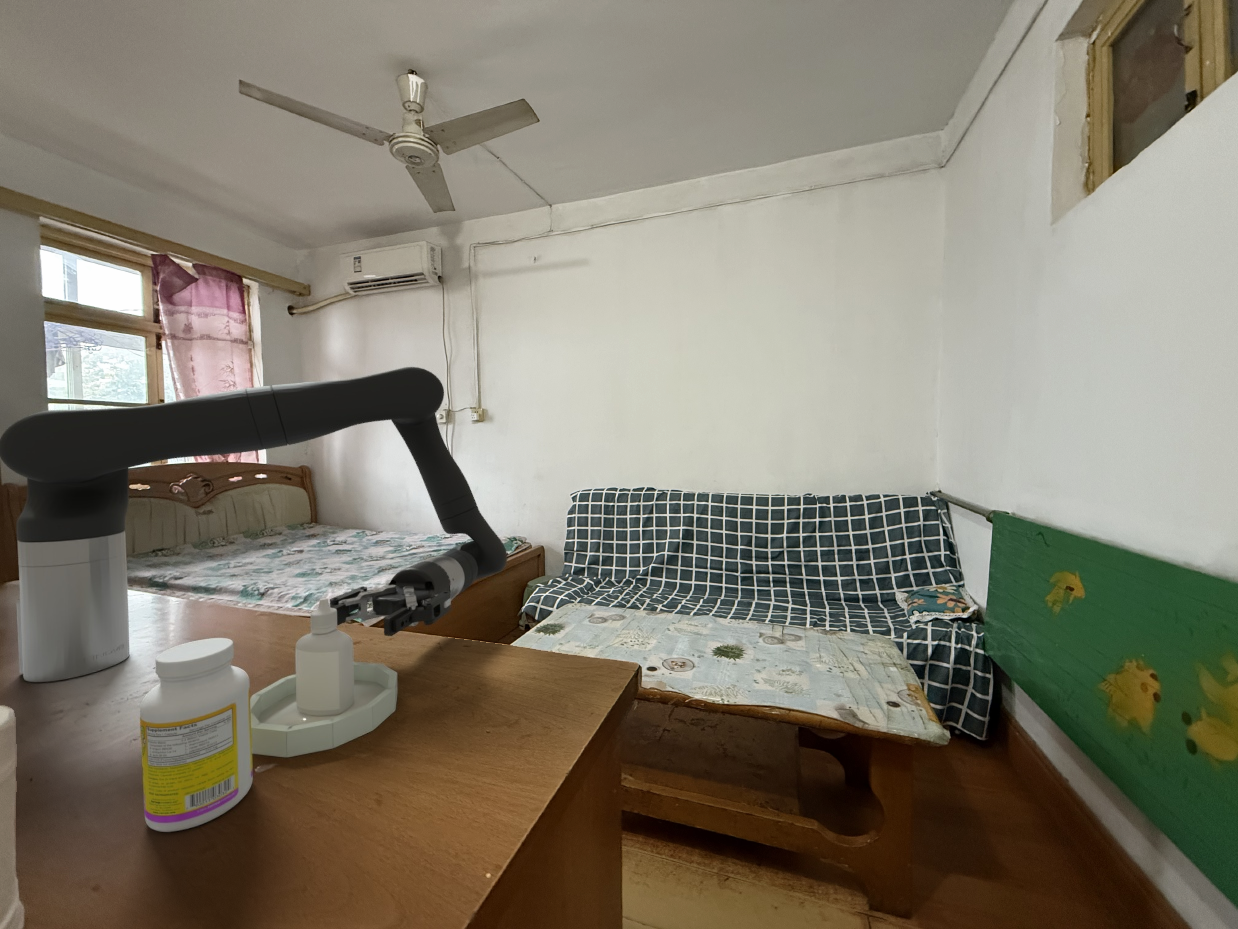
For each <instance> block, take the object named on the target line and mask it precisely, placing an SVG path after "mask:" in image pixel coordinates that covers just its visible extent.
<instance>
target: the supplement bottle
mask: <svg viewBox="0 0 1238 929" xmlns="http://www.w3.org/2000/svg"><path fill="white" fill-rule="evenodd" d="M234 656H235V648H234V641H233V640H232V639H230V638H226V637H212V638H204V639H198V640H193V641H189V642H184V643H181V644H178V645H175V646H173V647H170V648H168V649H165V650H164V651H161V652H160V653H159V654H158V655H157V656H156V657H155V674H156V676H157V677H158V679H159V680H160V681H159V683H158V684H157V685H155V686H154V687H153V688H152V689H150V690H149V691H148V692H147V693H146V695H145V696H144V697H143V699H142V700H141V702H140V706H139V722H140V723H139V725H140V726H139V729H140V730H139V731H140V746H141V748H140V749H141V767H142V785H143V789H142V790H143V792H142V793H143V811H144V821H145V822H146V825H147V826H148V828H150V829H151V830H154V831H156V832H163V833H171V832H177V831H183V830H188V829H190V828H191V829H192V828H195V827H199V826H200V825H203V824H205V823H208V822H210V821H213V820H214V819H216V818H218V817H220V816H221V815H223V814H225V813H227V812H228V811H230V810H231V809H233V808H234V807H235V806H236V805H238V803H239V802H241V800H243V798H244V797H245V796H246V795H247V794H248V792H249V790H250V789H251V787H252V784H253V780H254V778H253V777H254V775H253V774H254V772H253V770H254V768H253V767H254V766H253V764H254V763H253V754H252V737H251V709H250V698H251V684H250V682H251V680H250V677H249V675H248V673H247V672H246V671H245V670H244V669H242V668H240V667H238V666H236V665H235V666H234V665H232V661H233V659H234Z"/></svg>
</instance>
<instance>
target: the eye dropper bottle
mask: <svg viewBox="0 0 1238 929" xmlns="http://www.w3.org/2000/svg"><path fill="white" fill-rule="evenodd" d="M296 641H297V642H296V643H295V649H294V650H295V651H294V652H295V657H294V658H295V674H296V707H297V710H298V711H299V712H301V713H304V714H307V715H312V716H330V715H337V714H340V713H342V712H344V711H345V710H346V709H348V708H349V707H350V706H351V705H352V704H353V703H354V661H355V660H354V659H355V658H354V641H353V639H352V637H351V636H350V635H349V634H347V633H346V632H344V631H342V630H339V629H338V626H337V610H336V609H335V608H331V607H330V602H329V599H328V598H327V597H321V598H320V599H319V601H318V606H317V609H315V610H314V611H312V612H311V613H310V632H308V633H306V634H304V635H303V636H302V637H300V638H299V639H298V640H296Z"/></svg>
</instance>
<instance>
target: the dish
mask: <svg viewBox="0 0 1238 929" xmlns="http://www.w3.org/2000/svg"><path fill="white" fill-rule="evenodd" d="M397 700H398V672H396V671H395V670H393V669H392V668H390V667H388V666H387V665H385V664H384V663H381V662H380V663H379V662H378V663H377V662H368V661H367V662H366V661H355V660H354V703H353V704H352V705H351V706H350V707H349V708H348V709H346V710H345V711H344V712H342V713H340V714H337V715H330V716H312V715H307V714H304V713H301V712H299V711H298V710H297V707H296V673H294V674H290V675H288V676H285V677H282V678H280V679H278V680H277V681H275V682H273V683H272V684H270V685H268V686H267V687H265V688H263V689H261V690H259V691H257V692H255V693H254V694H252V695H251V696H250V709H251V737H252V755H262V756H270V757H278V758H279V757H280V758H291V757H296V756H302V755H306V754H311V753H317V752H323V751H327V750H331V749H332V750H333V749H335V748H337V747H340V746H342V745H344V744H346V743H348V742H350V741H353V740H355V739H357V738H359V737H361V736H363V735H366V734H367V733H370V732H372V731H374V730H375V729H376V728H377V727H378V726H380V725H381V724H382V723H383V722H385V720H386V719H387V718H388V717H389V716H391V715H392V714H393V713H394V712H395V711H396V708H397V702H398V701H397Z"/></svg>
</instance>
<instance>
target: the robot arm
mask: <svg viewBox="0 0 1238 929" xmlns="http://www.w3.org/2000/svg"><path fill="white" fill-rule="evenodd" d="M444 396H445V390H444V386H443V383H442V382H441V380H440V378H438V377H437V375H436V374H434V373H433V372H432V371H429V370H427V369H425V368H423V367H422V368H421V367H418V366H417V367H416V366H406V367H405V366H404V367H400V368H396V369H391V370H388V371H383V372H378V373H374V374H370V375H364V376H360V377H354V378H347V379H335V380H319V381H316V380H315V381H306V382H297V383H296V382H295V383H293V382H292V383H283V384H272V385H265V386H264V385H263V386H257V387H256V386H255V387H246V388H239V389H234V390H226V391H220V392H215V393H208V394H204V395H198V396H193V397H188V398H182V399H178V400H174V401H169V402H164V403H163V402H162V403H158V404H151V405H150V404H149V405H141V406H129V407H112V408H111V407H110V408H109V407H108V408H91V409H90V408H88V409H54V410H53V409H52V410H51V409H50V410H49V409H48V410H43V411H38V412H35V413H32V414H29V415H27V416H24V417H21V418H20V419H19V420H17V421H15V422H13V423H12V424H10V426H9V427H7V429H6V430H5V431H4V432H3V433H2V435H1V437H0V460H1V461H2V462H3V464H4V465H5V466H6V467H7V468H8V469H10V470H11V471H13V472H14V473H16V474H17V475H20V476H22V477H23V478H26V479H27V480H26V482H27V483H26V485H27V488H26V489H27V490H26V492H27V494H26V495H27V496H26V501H25V504H24V507H23V510H22V511H21V513H20V515H19V516H18V518H17V520H16V540H17V541H16V542H17V557H18V558H17V561H18V578H19V599H18V600H17V601H16V618H17V620H16V621H17V622H16V623H17V625H16V626H17V641H18V642H17V646H18V667H19V674H23V676H22V677H23V679H24V680H23V681H26V682H30V683H31V682H32V683H43V682H44V683H46V682H55V681H61V680H62V681H63V680H67V679H72V678H77V677H81V676H85V675H89V674H93V673H96V672H99V671H101V670H102V671H103V670H104V669H108V668H110V667H113V666H115V665H118V664H120V663H121V662H123V661H125V660H126V659H128V658H129V656H130V627H129V626H130V624H129V622H130V621H129V620H130V619H129V597H128V596H129V594H128V592H129V591H128V568H127V565H128V564H127V544H126V543H127V541H126V539H127V538H126V531H125V530H126V516H127V512H128V509H129V508H128V507H129V495H130V494H129V487H130V486H129V478H130V477H129V469H130V468H133V467H136V466H137V467H138V466H141V465H146V464H150V463H155V462H160V461H166V460H172V459H179V458H191V457H192V458H194V457H208V456H219V455H220V456H221V455H230V454H240V453H241V454H242V453H249V452H256V451H263V450H269V449H275V448H280V447H286V446H291V445H296V444H300V443H303V442H308V441H311V440H315V439H318V438H321V437H323V436H327V435H330V434H332V433H336V432H339V431H341V430H345V429H347V428H351V427H353V426H354V427H355V426H357V425H362V424H368V423H373V422H374V423H375V422H384V421H391V422H392V423H393V425H394V427H395V429H396V430H397V432H398V433H399V435H400V436H401V438H402V439H403V442H404V443H405V445H406V447H407V448H408V450H409V452H410V454H411V457H412V458H413V460H414V463H415V464H416V467H417V470H418V471H419V474H420V476H421V479H422V480H423V483H424V486H425V489H426V491H427V493H428V497H429V498H430V501H431V503H432V506H433V508H434V511H435V513H436V516H437V518H438V520H439V522H440V525H441V528H442V530H443V532H445V533H446V534H448V535H459V534H463V535H466V536H468V537H469V538H470V539H471V541H468V542H465V543H462V544H459V545H457V546H455V547H452V548H450V549H448V550H447V551H446V552H444V553H442V554H440V555H436V556H434V557H433V556H431V557H429V558H426V559H424V560H422V561H420V562H417V563H414V564H412V565H410V566H407V567H405V568H403V569H401V570H399V571H398V572H397V573H396V574H394V576H393V577H392V578H391V580H390V582H389V584H388V585H384V586H381V587H380V588H378V589H374V590H373V589H372V590H368V586H360V587H357V588H355V589H352V590H349V591H347V592H345V593H342V594H339V595H337V596H334V597H331V598H330V599H329V606H330V607H331V608H335V609H336V610H337V627H338V626H340V625H342V624H343V623H346V622H348V621H351V620H355V619H360V620H361V621H368V620H372V619H377V618H381V617H385V618H384V620H383V634H384V636H387V637H393V636H394V635H396V634H397V633H400V632H402V631H403V630H404V629H406V628H408V627H415V626H417V625H418V624H419V622H420V623H421V622H423V625H424V626H431V625H433V624H435V623H436V622H437V621H439V620H440V619H441V618H442V617H443V616H445V615H446V614H447V613H449V612H451V609H452V608H451V607H452V606H451V605H452V604H451V603H452V602H451V601H453V600H454V598H456V596H457V595H459V594H461V593H462V592H464V591H465V590H467V589H468V588H470V587H471V585H473V583H474V582H475V581H477V580H479V579H483V578H487V577H489V576H492V575H495V574H499V573H501V572H502V571H503V570H504V569H505V567H506V566H507V560H508V554H507V549H506V546H505V544H504V543H503V542H502V540H501V538H500V537H499V536H498V535H497V533H496V532H495V531H494V529H493V528H492V527H491V526H490V525H489V523H488V521H487V520H486V519H485V518H484V515H482V513H481V511H480V510H479V507H478V504H477V502H476V500H475V496H474V495H473V492H472V489H471V487H470V485H469V483H468V480H467V478H466V477H465V475H464V473H463V472H462V469H461V468H460V466H459V464H458V463H457V462H456V460H455V459H454V458H453V455H451V452H450V451H449V449H448V448H447V445H446V442H445V441H444V439H443V436H442V433H441V431H440V427H439V423H438V420H437V415H436V413H437V412H438V411H439V410H440V407H441V406H442V403H443V401H444V398H445V397H444ZM368 603H372V604H371V605H372V611H370V612H368ZM355 611H356V612H355Z"/></svg>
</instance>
